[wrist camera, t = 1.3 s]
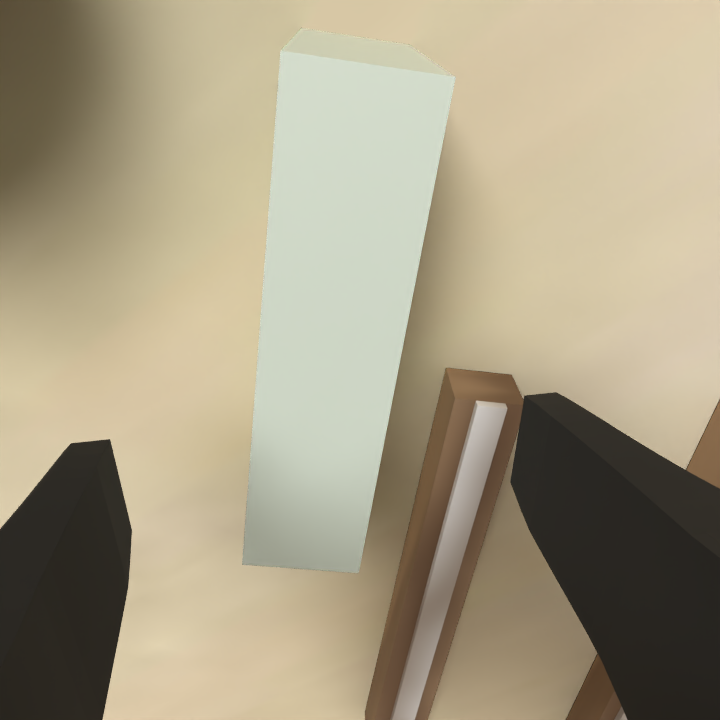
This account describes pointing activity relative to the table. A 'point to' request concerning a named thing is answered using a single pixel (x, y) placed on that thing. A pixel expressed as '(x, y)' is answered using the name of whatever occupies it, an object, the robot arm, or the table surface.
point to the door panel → (337, 287)
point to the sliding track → (467, 544)
